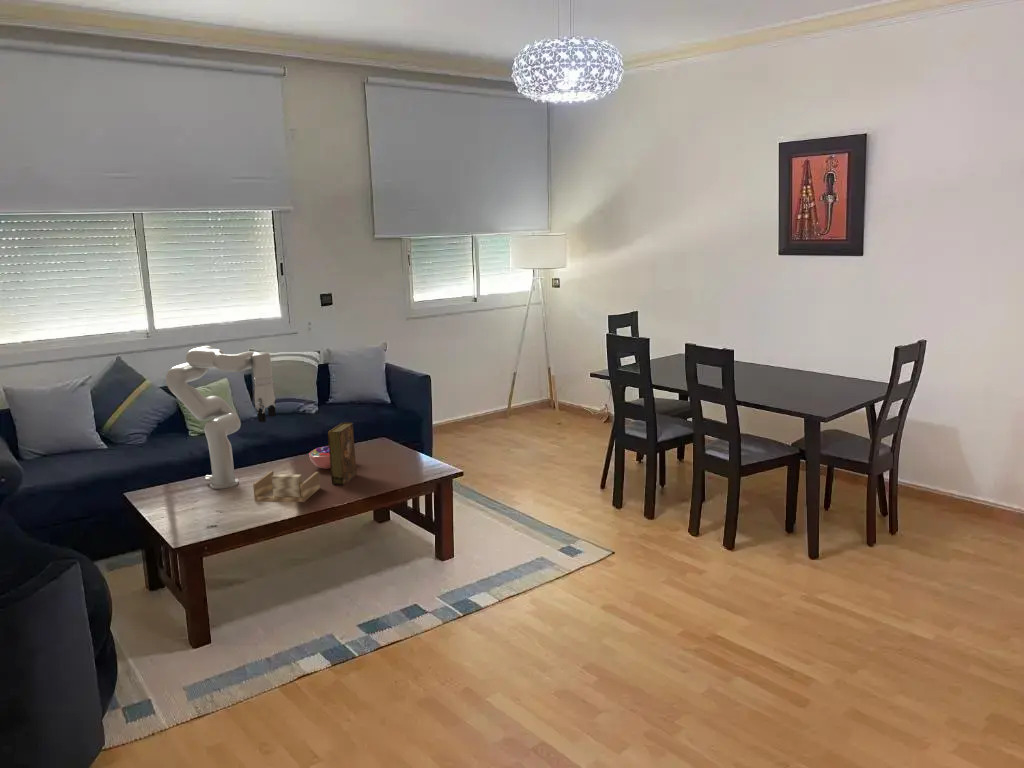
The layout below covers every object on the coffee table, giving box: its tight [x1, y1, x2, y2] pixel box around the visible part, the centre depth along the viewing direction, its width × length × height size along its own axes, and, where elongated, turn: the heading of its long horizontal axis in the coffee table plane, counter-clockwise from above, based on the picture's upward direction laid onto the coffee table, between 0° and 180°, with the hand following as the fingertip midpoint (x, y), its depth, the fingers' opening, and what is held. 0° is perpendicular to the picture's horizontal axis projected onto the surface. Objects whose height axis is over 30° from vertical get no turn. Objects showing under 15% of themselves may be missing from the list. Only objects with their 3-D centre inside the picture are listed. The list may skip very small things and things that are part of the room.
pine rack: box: [252, 470, 321, 503], centre depth 337 cm, size 22×17×8 cm
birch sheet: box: [271, 473, 303, 497], centre depth 331 cm, size 12×3×11 cm, turn 82°
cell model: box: [308, 445, 331, 470], centre depth 374 cm, size 17×20×11 cm
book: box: [327, 422, 357, 486], centre depth 353 cm, size 16×6×25 cm, turn 168°
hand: (267, 419), depth 339 cm, fingers open, 9 cm apart
